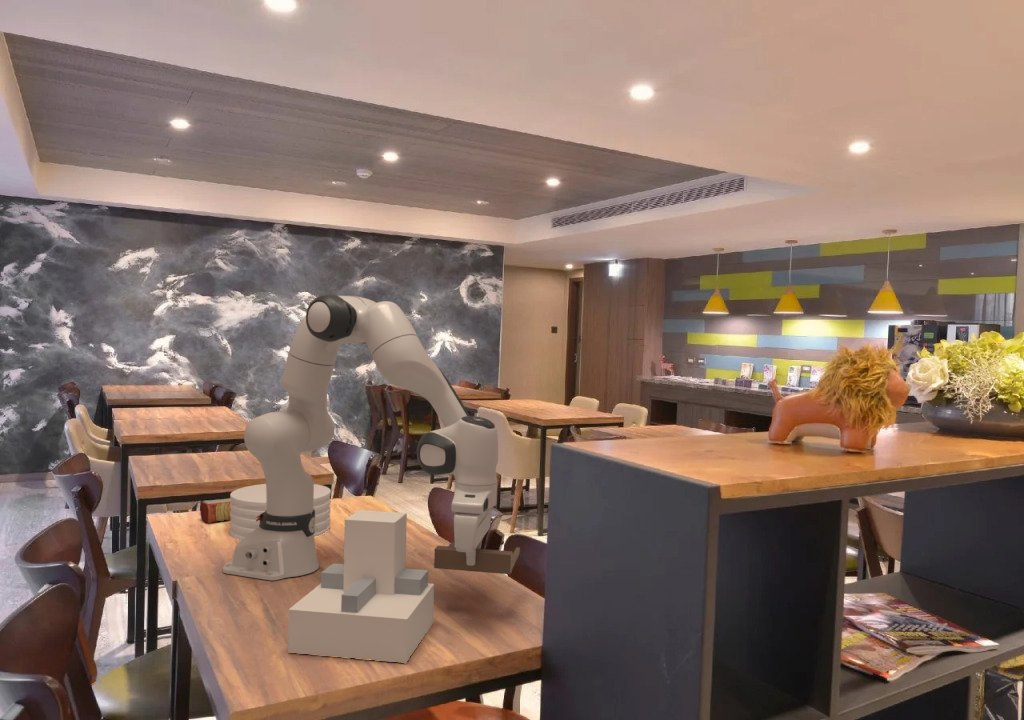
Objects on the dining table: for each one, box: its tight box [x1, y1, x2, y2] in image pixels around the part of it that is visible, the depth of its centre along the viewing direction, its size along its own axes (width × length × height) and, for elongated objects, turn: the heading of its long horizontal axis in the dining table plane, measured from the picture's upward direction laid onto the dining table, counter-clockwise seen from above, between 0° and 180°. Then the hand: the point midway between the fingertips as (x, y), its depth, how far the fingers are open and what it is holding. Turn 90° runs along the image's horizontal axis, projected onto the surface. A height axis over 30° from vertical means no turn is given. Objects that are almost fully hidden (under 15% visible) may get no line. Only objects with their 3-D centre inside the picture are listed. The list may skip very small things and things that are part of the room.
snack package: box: [199, 498, 231, 524], centre depth 228 cm, size 21×7×7 cm, turn 132°
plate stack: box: [229, 483, 332, 541], centre depth 215 cm, size 28×28×12 cm
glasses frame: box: [433, 541, 521, 575], centre depth 158 cm, size 16×15×4 cm
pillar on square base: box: [287, 509, 435, 663], centre depth 139 cm, size 22×19×22 cm
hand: (473, 561), depth 152 cm, fingers closed on glasses frame, 3 cm apart
